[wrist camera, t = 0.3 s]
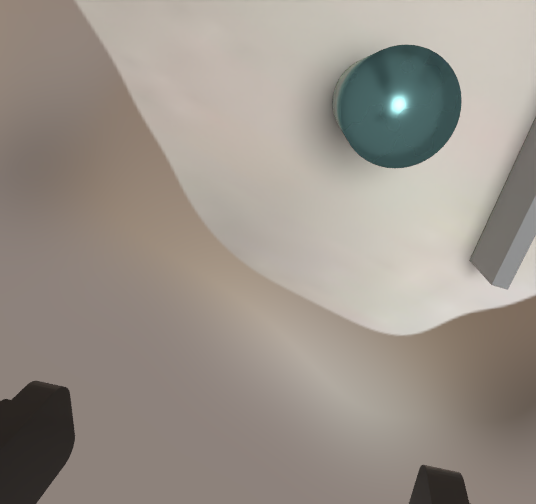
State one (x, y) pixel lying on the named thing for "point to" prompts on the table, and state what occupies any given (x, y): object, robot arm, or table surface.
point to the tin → (398, 105)
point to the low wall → (510, 221)
